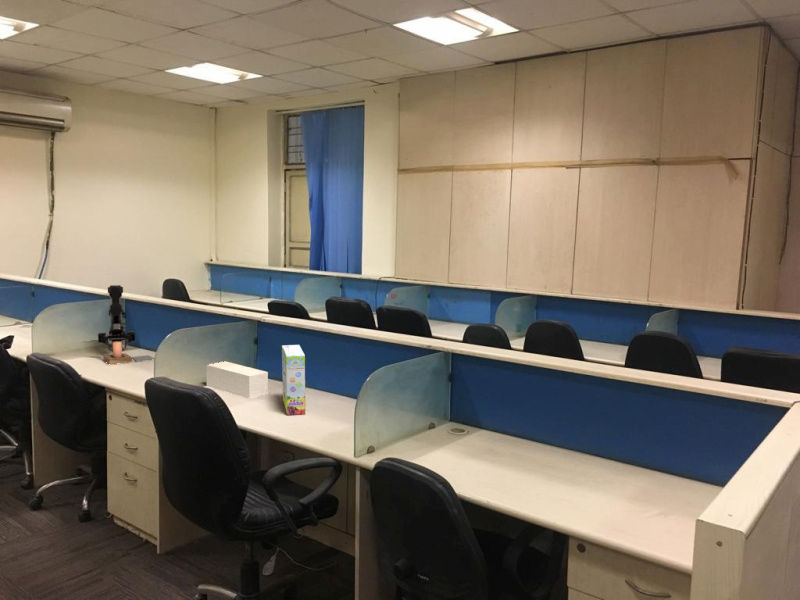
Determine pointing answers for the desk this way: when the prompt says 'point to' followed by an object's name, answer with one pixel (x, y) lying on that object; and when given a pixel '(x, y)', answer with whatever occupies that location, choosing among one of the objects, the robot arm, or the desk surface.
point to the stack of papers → (237, 379)
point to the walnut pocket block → (117, 359)
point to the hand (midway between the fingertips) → (117, 349)
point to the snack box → (293, 379)
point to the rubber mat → (142, 358)
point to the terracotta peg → (117, 349)
